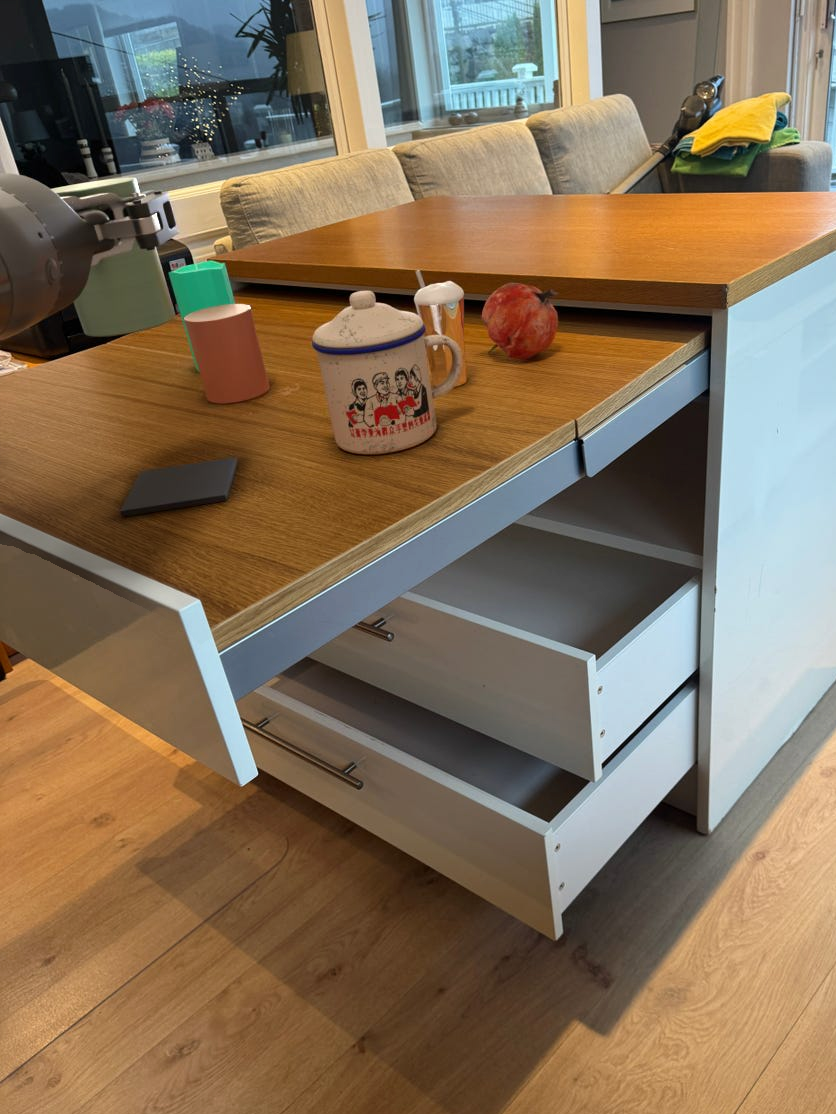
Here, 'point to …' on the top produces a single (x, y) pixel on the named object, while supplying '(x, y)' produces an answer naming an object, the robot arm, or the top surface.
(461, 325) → the milkshake
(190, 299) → the candle
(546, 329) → the pomegranate
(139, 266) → the upper tin
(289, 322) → the top surface
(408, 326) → the teacup with lid
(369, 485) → the top surface
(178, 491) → the mat
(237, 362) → the lower tin
